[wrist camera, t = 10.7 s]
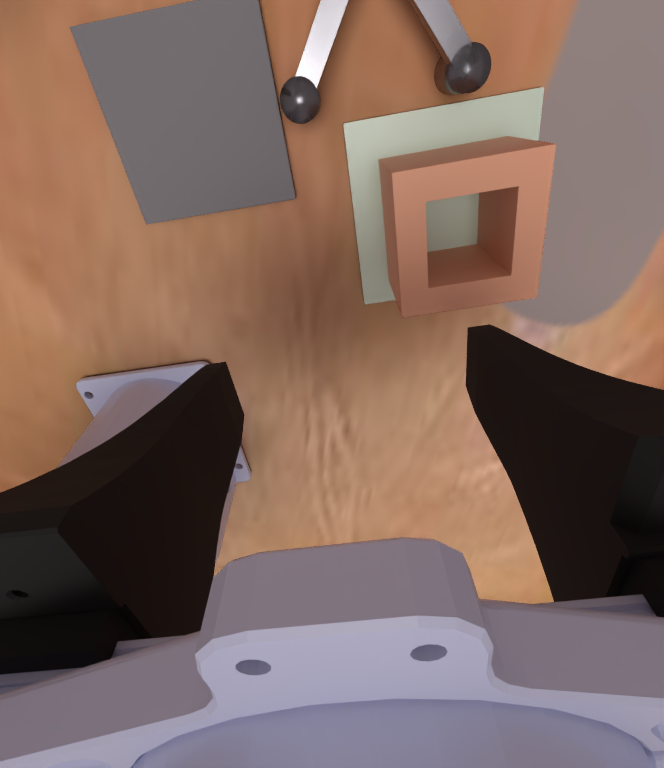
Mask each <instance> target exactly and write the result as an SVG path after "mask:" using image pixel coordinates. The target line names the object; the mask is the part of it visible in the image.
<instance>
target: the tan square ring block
mask: <svg viewBox="0 0 664 768" xmlns="http://www.w3.org/2000/svg"><path fill="white" fill-rule="evenodd" d="M555 150H556V144H554V143H548V142H541V141H536V140H530V139H524V138H518V137H511V136H504V137H499V138H493V139H487V140H482V141H476V142H471V143H465V144H460V145H454V146H449V147H443V148H438V149H432V150H427V151H421V152H415V153H410V154H404V155H399V156H393V157H388V158H382V159H378V161H379V172H380V184H381V196H382V207H383V219H384V231H385V242H386V254H387V266H388V277H389V282H390V285H391V288H392V291H393V294H394V296H395V299H396V302H397V305H398V308H399V310H400V313H401V316H402V318H404V317H411V316H417V315H424V314H431V313H437V312H444V311H451V310H457V309H464V308H471V307H477V306H484V305H491V304H497V303H504V302H511V301H517V300H524V299H530V298H537V294H538V286H539V279H540V270H541V263H542V255H543V245H544V239H545V231H546V222H547V214H548V206H549V198H550V189H551V182H552V174H553V165H554V158H555ZM475 193H479V203H478V231H477V244H474V245H468V246H462V247H455V248H449V249H443V250H437V251H431V252H427V230H426V202H428V201H434V200H440V199H446V198H452V197H458V196H463V195H469V194H475Z"/></svg>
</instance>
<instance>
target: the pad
mask: <svg viewBox="0 0 664 768" xmlns="http://www.w3.org/2000/svg"><path fill="white" fill-rule="evenodd" d="M543 94H544V87H539V88H534V89H528V90H523V91H517V92H512V93H506V94H501V95H495V96H490V97H484V98H479V99H473V100H468V101H462V102H457V103H451V104H446V105H440V106H435V107H429V108H424V109H418V110H413V111H407V112H402V113H396V114H391V115H386V116H380V117H375V118H369V119H364V120H358V121H353V122H347V123H343V127H344V136H345V144H346V153H347V161H348V170H349V178H350V187H351V195H352V204H353V212H354V221H355V229H356V237H357V246H358V254H359V263H360V271H361V280H362V288H363V297H364V304H372V303H379V302H385V301H392V300H396V299H395V296H394V294H393V291H392V288H391V285H390V282H389V277H388V266H387V254H386V242H385V231H384V219H383V207H382V196H381V184H380V172H379V161H378V159H382V158H388V157H393V156H399V155H404V154H410V153H415V152H421V151H427V150H432V149H438V148H443V147H449V146H454V145H460V144H465V143H471V142H476V141H482V140H487V139H493V138H499V137H504V136H511V137H518V138H524V139H530V140H536V141H538V140H539V131H540V122H541V112H542V103H543ZM478 203H479V193H475V194H469V195H463V196H458V197H452V198H446V199H440V200H434V201H428V202H426V230H427V252H431V251H437V250H443V249H449V248H455V247H462V246H468V245H474V244H477V231H478Z"/></svg>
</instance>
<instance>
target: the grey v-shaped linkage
mask: <svg viewBox="0 0 664 768" xmlns="http://www.w3.org/2000/svg"><path fill="white" fill-rule="evenodd" d="M408 1H409V3H410V4H411V6H412V8H413V9H414V11H415V13H416V14H417V16H418V18H419V19H420V21H421V23H422V24H423V26H424V28H425V29H426V31H427V33H428V34H429V36H430V38H431V39H432V41H433V43H434V44H435V46H436V48H437V49H438V51H439V53H440V54H441V56H442V57H441V59H440V60H439V62H438V63H437V66H436V69H435V74H434V78H435V83H436V86H437V88H438V89H439V90H440V91H441V92H442V93H444V94H447V95H453V94H464V93H471V92H474V91H476V90H478V89H479V88H480V87H481V86H482V85H483V84H484V83H485V81H486V80H487V78H488V76H489V73H490V69H491V57H490V54H489V51H488V50H487V48H486V47H485V46H484V45H482V44H480V43H477V42H471V40H470V39H469V37H468V35H467V33H466V32H465V30H464V28H463V26H462V24H461V23H460V21H459V19H458V17H457V16H456V14H455V12H454V10H453V8H452V7H451V5H450V3H449V1H448V0H408ZM348 2H349V0H321V1H320V4H319V7H318V10H317V13H316V16H315V19H314V22H313V25H312V28H311V31H310V34H309V37H308V40H307V43H306V46H305V49H304V52H303V55H302V58H301V61H300V64H299V67H298V70H297V73H296V76H295V77H292V78H290V79H289V80H288V81H287V82H286V83H285V84H284V86H283V88H282V90H281V94H280V103H281V108H282V110H283V112H284V114H285V115H286V117H287V118H288V119H289V120H291V121H292V122H295V123H298V124H303V123H307V122H309V121H310V120H312V119H313V118H314V117H315V116H316V114H317V113H318V111H319V108H320V95H319V92H318V90H317V87H318V85H319V82H320V79H321V76H322V74H323V71H324V68H325V65H326V63H327V60H328V57H329V54H330V52H331V49H332V46H333V43H334V41H335V38H336V35H337V32H338V30H339V27H340V24H341V21H342V18H343V16H344V13H345V10H346V7H347V5H348Z"/></svg>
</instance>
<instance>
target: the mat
mask: <svg viewBox="0 0 664 768" xmlns="http://www.w3.org/2000/svg"><path fill="white" fill-rule="evenodd" d="M70 29H71V32H72V34H73V37H74V39H75V42H76V44H77V47H78V50H79V52H80V55H81V57H82V60H83V62H84V65H85V68H86V70H87V73H88V75H89V78H90V81H91V83H92V86H93V88H94V91H95V93H96V96H97V99H98V101H99V104H100V106H101V109H102V111H103V114H104V117H105V119H106V122H107V124H108V127H109V130H110V132H111V135H112V137H113V140H114V142H115V145H116V148H117V150H118V153H119V155H120V158H121V160H122V163H123V166H124V168H125V171H126V173H127V176H128V179H129V181H130V184H131V186H132V189H133V191H134V194H135V197H136V199H137V202H138V204H139V207H140V209H141V212H142V215H143V217H144V220H145V222H146V224H151V223H157V222H163V221H169V220H175V219H180V218H186V217H192V216H198V215H204V214H210V213H216V212H222V211H228V210H234V209H239V208H245V207H251V206H257V205H263V204H269V203H275V202H281V201H287V200H292V199H296V194H295V188H294V183H293V178H292V172H291V167H290V162H289V156H288V151H287V146H286V140H285V135H284V130H283V124H282V119H281V114H280V108H279V103H278V98H277V92H276V87H275V82H274V76H273V71H272V66H271V60H270V55H269V49H268V44H267V39H266V33H265V28H264V23H263V17H262V12H261V7H260V1H259V0H195V1H191V2H186V3H181V4H177V5H172V6H167V7H162V8H158V9H153V10H148V11H143V12H139V13H134V14H129V15H124V16H120V17H115V18H110V19H105V20H101V21H96V22H91V23H86V24H82V25H77V26H72V27H70Z"/></svg>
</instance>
